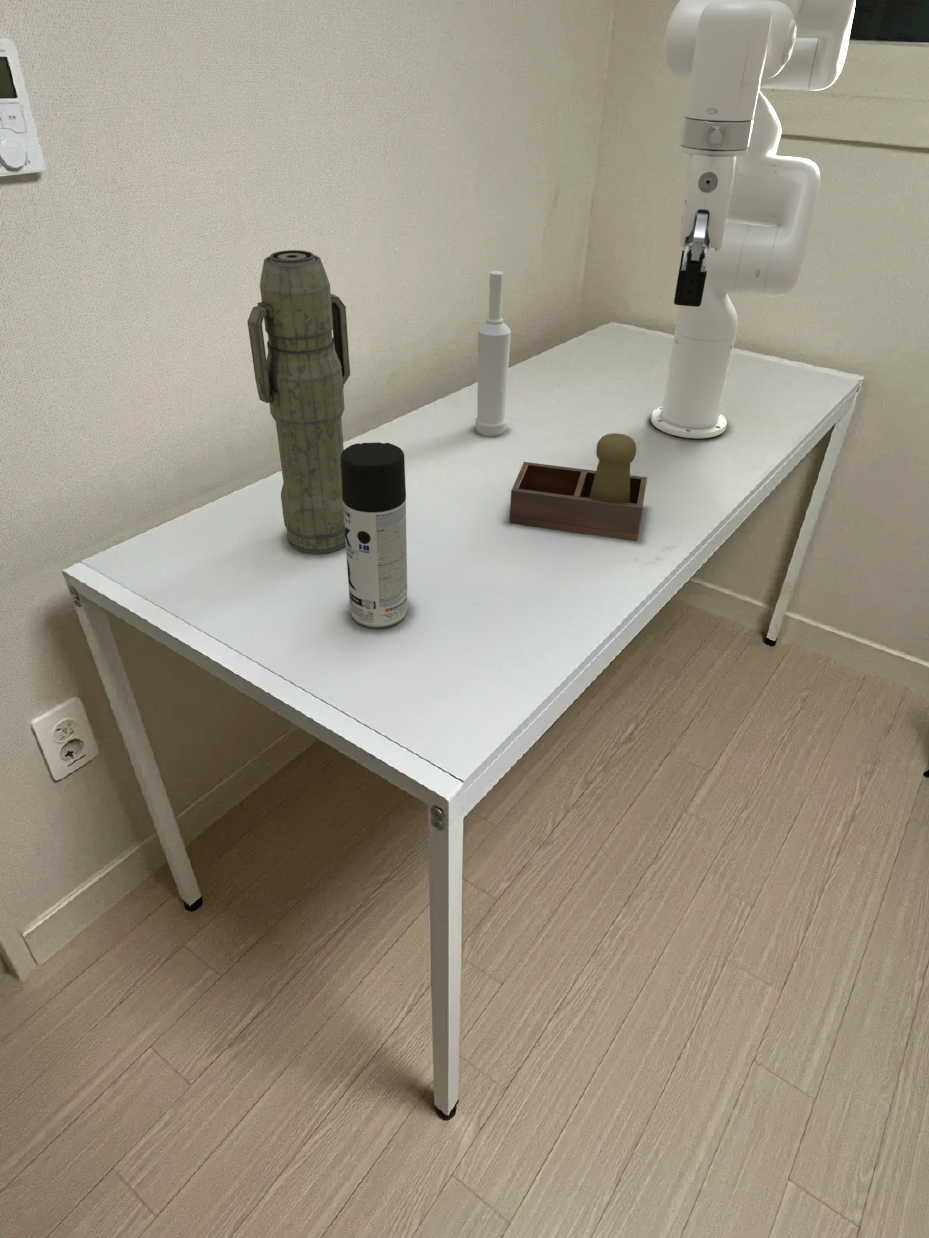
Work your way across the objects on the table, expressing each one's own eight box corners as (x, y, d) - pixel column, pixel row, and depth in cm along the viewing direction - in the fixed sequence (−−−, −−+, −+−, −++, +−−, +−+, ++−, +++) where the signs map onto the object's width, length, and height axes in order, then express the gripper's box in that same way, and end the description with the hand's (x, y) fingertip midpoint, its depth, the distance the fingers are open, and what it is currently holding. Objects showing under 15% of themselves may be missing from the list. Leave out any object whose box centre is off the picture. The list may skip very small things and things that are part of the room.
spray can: (351, 596, 98) (339, 440, 86) (408, 594, 99) (404, 439, 87) (349, 630, 93) (336, 468, 81) (410, 628, 94) (405, 467, 82)
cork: (633, 505, 115) (645, 432, 109) (625, 526, 111) (637, 450, 104) (590, 498, 117) (599, 425, 110) (581, 518, 112) (590, 443, 106)
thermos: (376, 531, 111) (361, 253, 90) (307, 566, 103) (273, 272, 83) (332, 509, 115) (308, 240, 94) (264, 541, 108) (221, 257, 87)
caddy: (521, 493, 120) (523, 461, 117) (642, 509, 117) (647, 477, 114) (509, 523, 113) (511, 490, 110) (637, 541, 110) (642, 507, 107)
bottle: (503, 438, 136) (511, 278, 121) (472, 435, 136) (476, 276, 122) (508, 425, 140) (516, 269, 125) (478, 422, 140) (482, 267, 126)
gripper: (751, 149, 86) (718, 317, 96) (747, 130, 99) (719, 279, 110) (678, 145, 87) (653, 311, 97) (684, 127, 101) (661, 275, 111)
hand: (688, 294), depth 103 cm, fingers open, 9 cm apart
